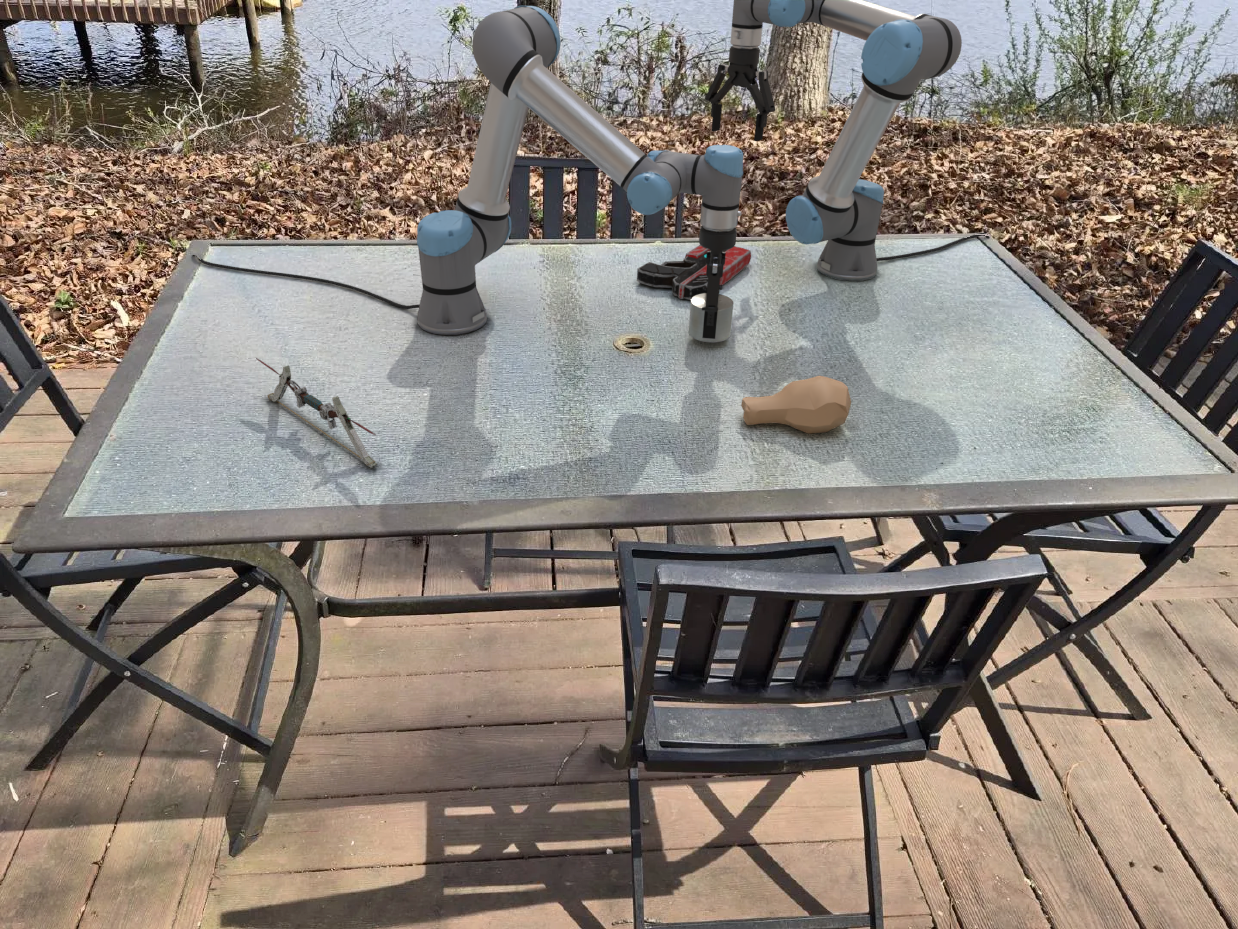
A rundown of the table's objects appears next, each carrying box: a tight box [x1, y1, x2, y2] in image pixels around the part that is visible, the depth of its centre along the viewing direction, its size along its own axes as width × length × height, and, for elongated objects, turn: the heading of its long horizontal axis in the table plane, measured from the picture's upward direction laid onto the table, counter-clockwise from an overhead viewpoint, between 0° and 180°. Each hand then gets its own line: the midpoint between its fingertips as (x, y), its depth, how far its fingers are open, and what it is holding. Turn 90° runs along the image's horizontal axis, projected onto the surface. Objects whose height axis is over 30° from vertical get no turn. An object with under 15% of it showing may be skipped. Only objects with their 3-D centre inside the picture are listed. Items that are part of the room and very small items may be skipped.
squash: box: [740, 375, 852, 434], centre depth 161 cm, size 11×20×9 cm, turn 90°
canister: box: [687, 293, 734, 343], centre depth 189 cm, size 9×9×8 cm
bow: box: [255, 357, 378, 469], centre depth 154 cm, size 39×2×10 cm, turn 47°
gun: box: [636, 244, 752, 301], centre depth 222 cm, size 4×31×19 cm
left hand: (709, 327), depth 190 cm, fingers closed on canister, 9 cm apart
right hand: (736, 135), depth 229 cm, fingers open, 13 cm apart
